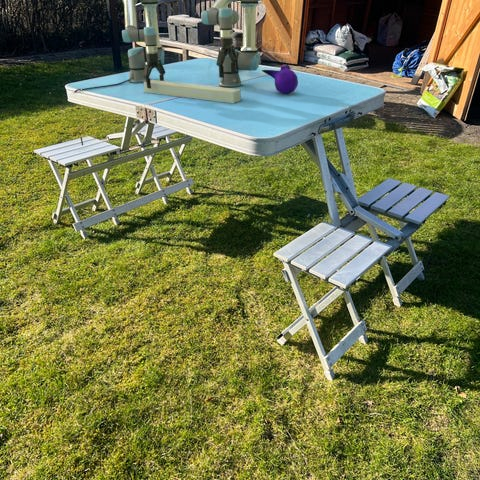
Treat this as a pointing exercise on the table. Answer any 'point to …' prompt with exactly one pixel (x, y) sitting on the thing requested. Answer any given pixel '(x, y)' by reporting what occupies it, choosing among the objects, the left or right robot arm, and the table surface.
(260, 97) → the table surface
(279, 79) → the toy
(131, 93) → the table surface
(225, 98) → the beige rectangular bar
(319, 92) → the table surface
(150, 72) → the left robot arm
